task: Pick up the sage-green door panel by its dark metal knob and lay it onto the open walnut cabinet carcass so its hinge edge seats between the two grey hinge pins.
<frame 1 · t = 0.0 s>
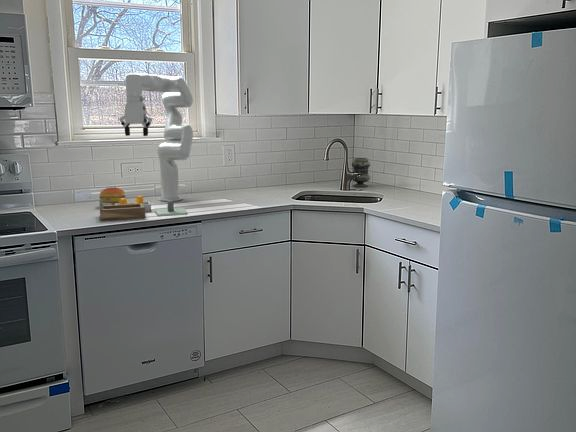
hand: (136, 135, 276), 37 cm above the worktop, tool pointing down, fingers open, 9 cm apart
door: (171, 214, 278), on the worktop
pipe clamp: (133, 210, 284), resting in clamp corral
apothecary jar: (360, 186, 361), on the worktop
clamp corral: (133, 210, 284), on the worktop
burger: (113, 206, 295), on the worktop
carcass: (122, 216, 269), on the worktop
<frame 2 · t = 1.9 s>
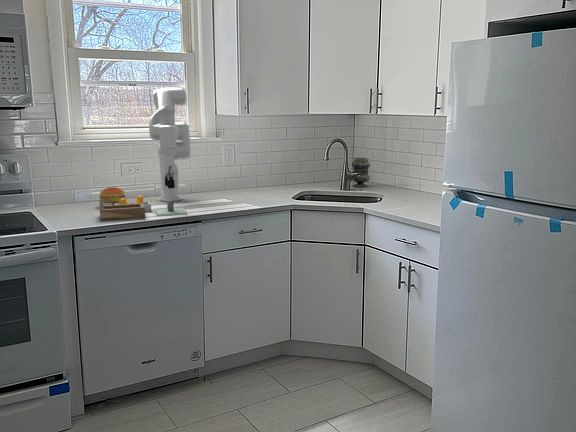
hand: (169, 187, 275), 13 cm above the worktop, tool pointing down, fingers open, 9 cm apart
nothing on the worktop moved.
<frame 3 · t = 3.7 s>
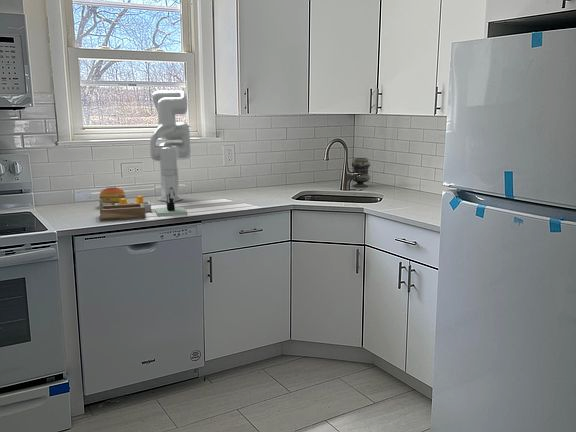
hand: (170, 209, 277), 2 cm above the worktop, tool pointing down, fingers closed on door, 3 cm apart
door: (170, 213, 278), on the worktop, touching gripper
everything else where it was.
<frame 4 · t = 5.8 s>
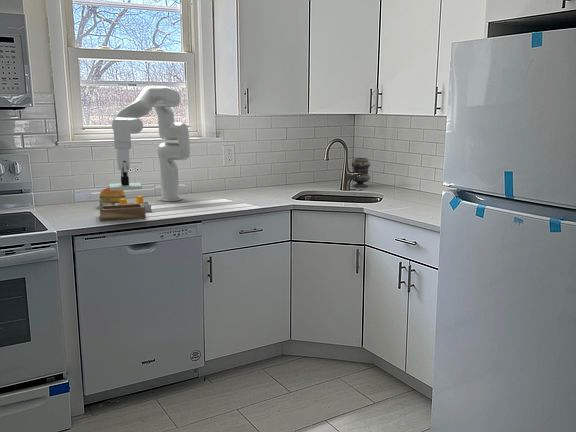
hand: (125, 184, 266), 15 cm above the worktop, tool pointing down, fingers closed on door, 3 cm apart
door: (125, 188, 267), point 14 cm above the worktop, touching gripper
everything else where it was.
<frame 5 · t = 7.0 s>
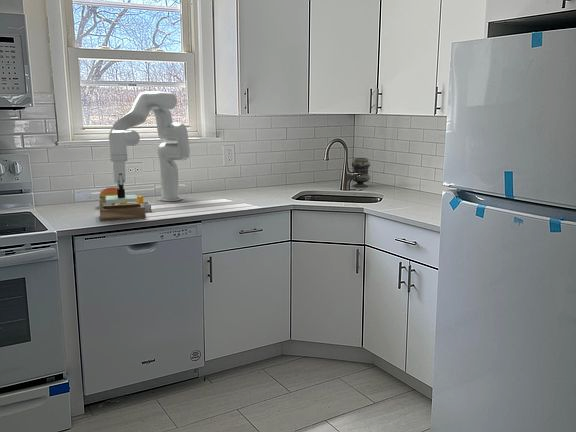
hand: (121, 196, 267), 10 cm above the worktop, tool pointing down, fingers closed on door, 3 cm apart
door: (121, 200, 267), point 8 cm above the worktop, touching gripper
everything else where it was.
when the fingers open (8 cm above the worktop, at t = 8.0 s): door drops 1 cm, resting on carcass.
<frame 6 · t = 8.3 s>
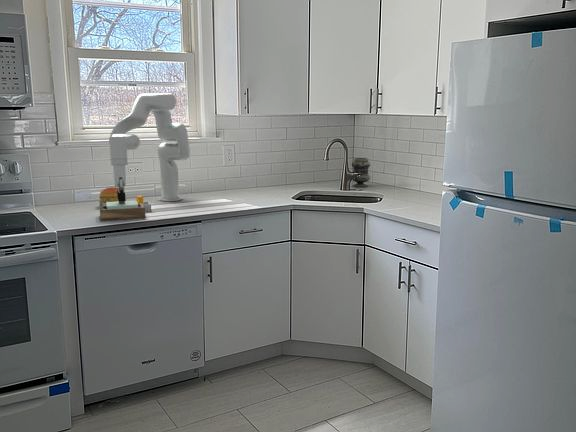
hand: (121, 199, 267), 8 cm above the worktop, tool pointing down, fingers open, 6 cm apart
door: (122, 206, 268), point 5 cm above the worktop, touching carcass
everything else where it was.
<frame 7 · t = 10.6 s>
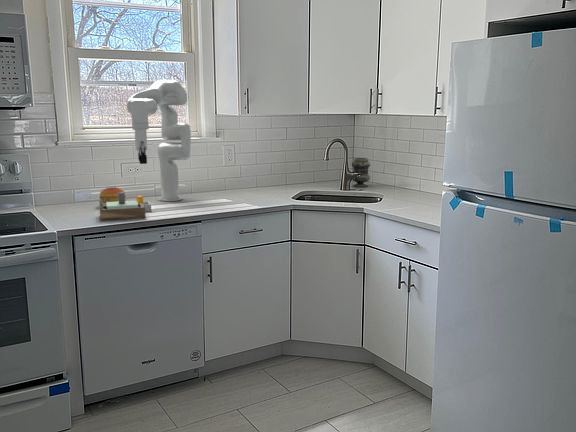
hand: (142, 162, 272), 25 cm above the worktop, tool pointing down, fingers open, 9 cm apart
nothing on the worktop moved.
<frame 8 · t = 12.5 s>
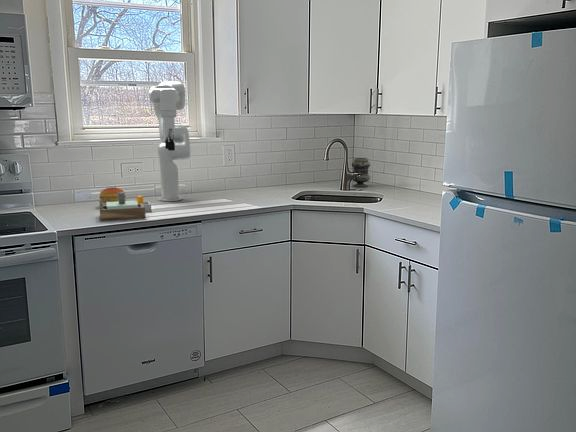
hand: (170, 149, 280), 30 cm above the worktop, tool pointing down, fingers open, 9 cm apart
nothing on the worktop moved.
at the end: door 0.2 cm off-centre on the carcass, point 5.0 cm above the carcass's base; door tilted 0°; the gripper is holding nothing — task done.
